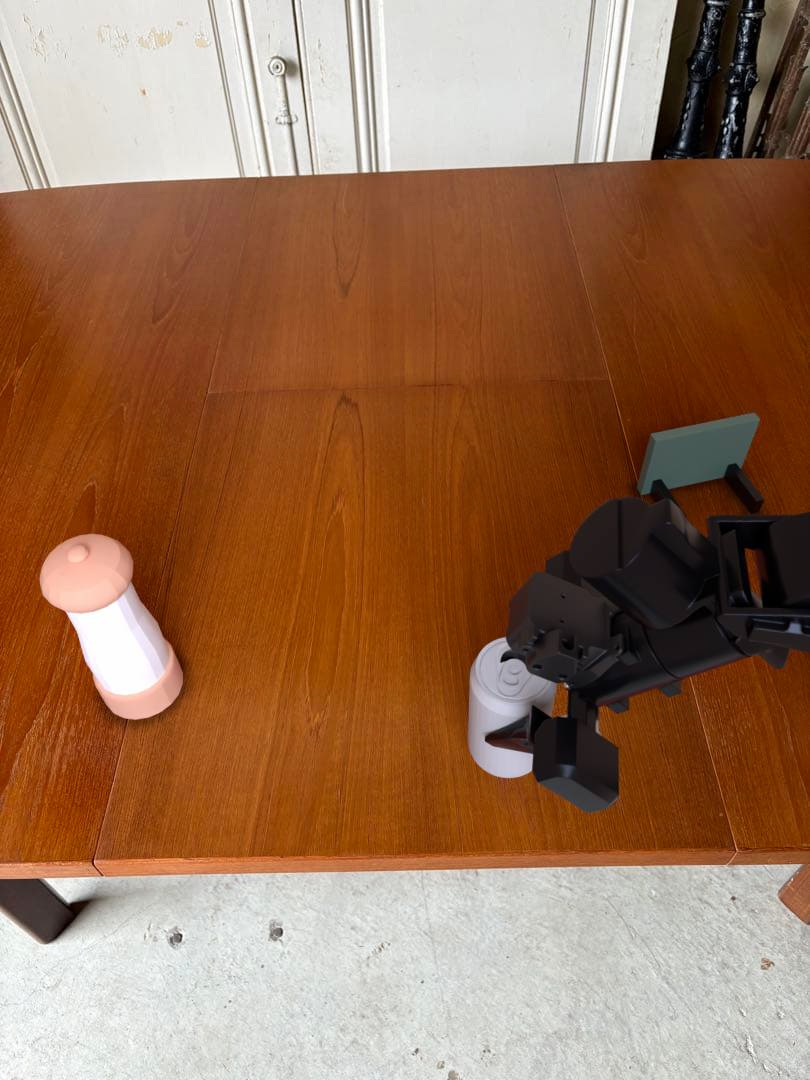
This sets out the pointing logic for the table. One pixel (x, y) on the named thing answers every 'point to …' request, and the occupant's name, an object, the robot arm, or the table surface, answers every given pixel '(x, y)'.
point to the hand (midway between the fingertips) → (492, 703)
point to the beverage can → (503, 706)
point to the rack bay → (701, 459)
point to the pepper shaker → (112, 625)
